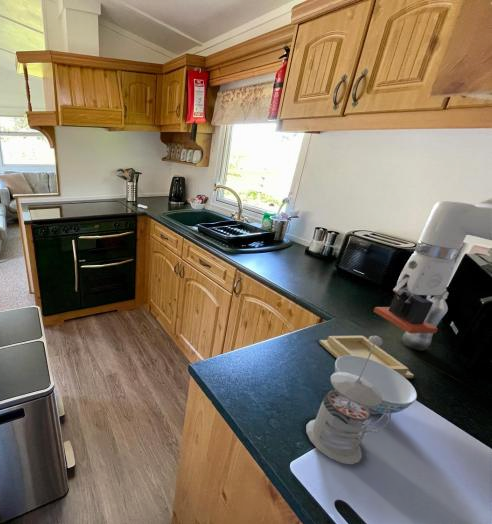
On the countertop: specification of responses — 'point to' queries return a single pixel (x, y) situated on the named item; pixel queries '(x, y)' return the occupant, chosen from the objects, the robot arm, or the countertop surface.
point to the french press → (350, 405)
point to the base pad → (362, 351)
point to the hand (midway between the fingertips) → (406, 313)
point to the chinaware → (380, 382)
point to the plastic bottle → (434, 316)
